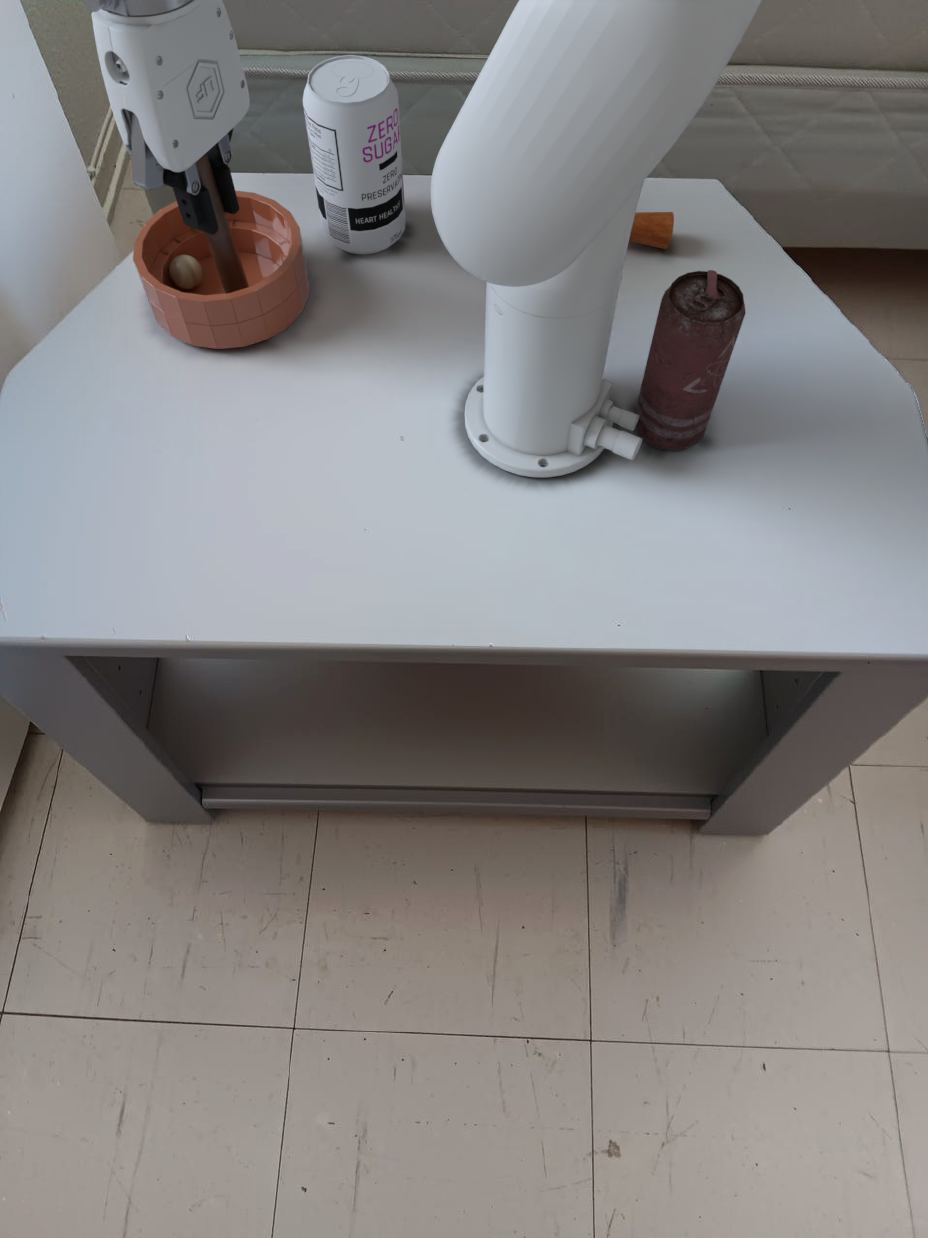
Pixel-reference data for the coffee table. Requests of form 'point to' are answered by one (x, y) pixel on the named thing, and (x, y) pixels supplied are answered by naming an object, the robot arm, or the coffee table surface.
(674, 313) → the can
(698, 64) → the robot arm
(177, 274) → the bead
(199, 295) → the bowl
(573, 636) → the coffee table surface
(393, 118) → the supplement can
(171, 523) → the coffee table surface
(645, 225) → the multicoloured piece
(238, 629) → the coffee table surface
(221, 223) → the stick
